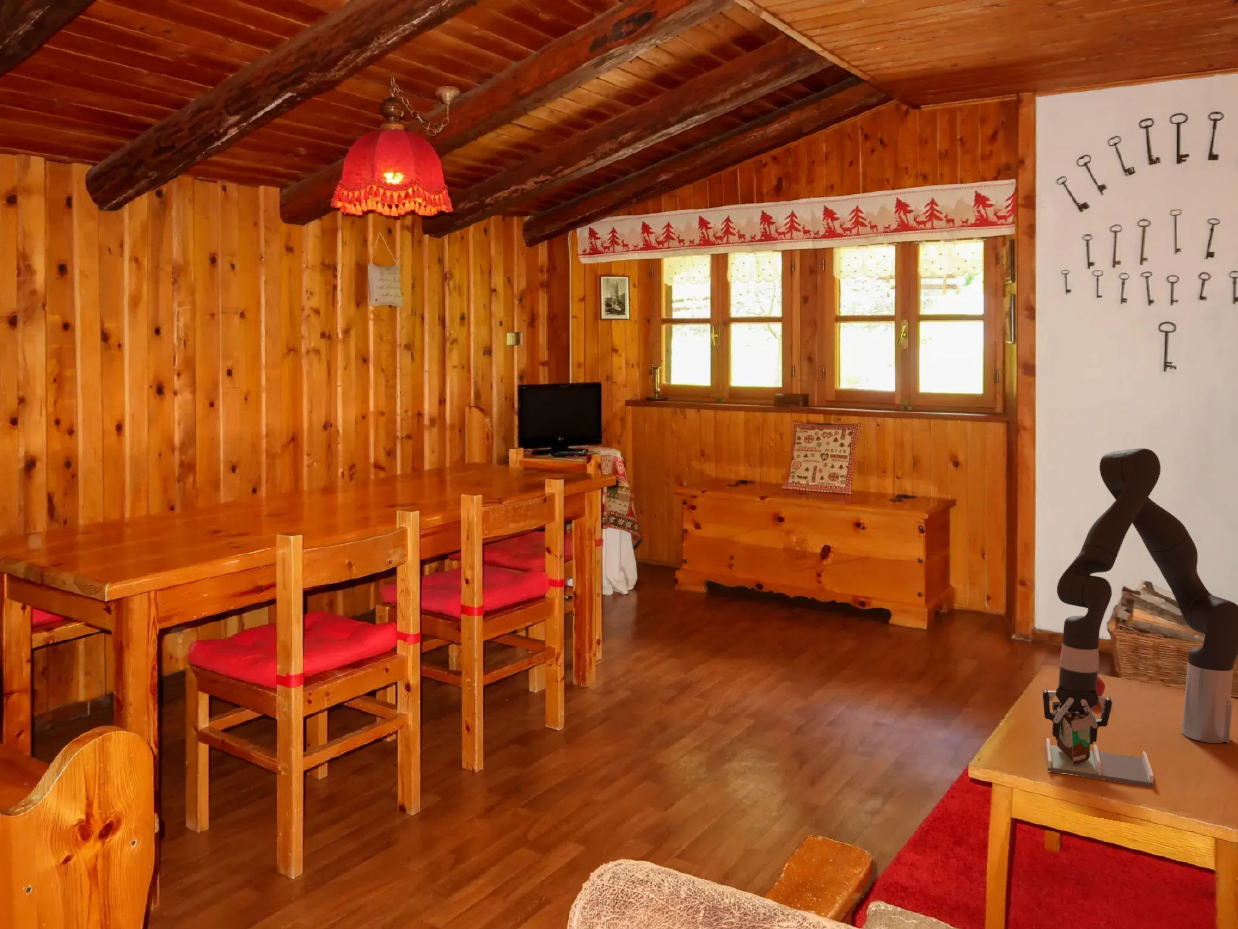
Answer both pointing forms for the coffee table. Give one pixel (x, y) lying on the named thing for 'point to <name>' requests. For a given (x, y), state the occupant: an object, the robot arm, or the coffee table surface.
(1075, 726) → the food container
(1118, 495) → the robot arm
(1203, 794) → the coffee table surface
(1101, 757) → the sorting board
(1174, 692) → the coffee table surface
